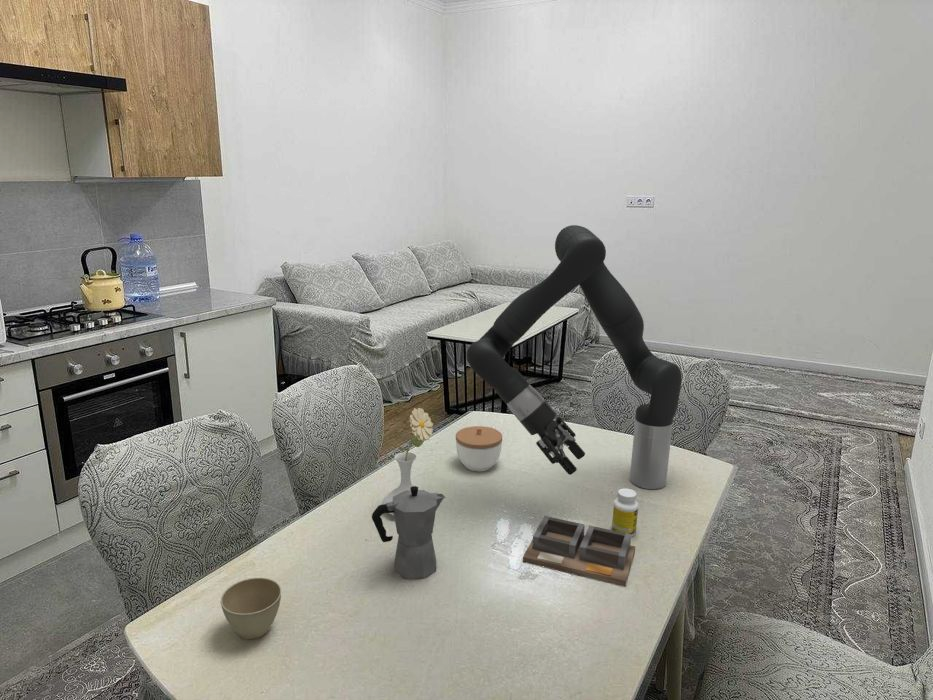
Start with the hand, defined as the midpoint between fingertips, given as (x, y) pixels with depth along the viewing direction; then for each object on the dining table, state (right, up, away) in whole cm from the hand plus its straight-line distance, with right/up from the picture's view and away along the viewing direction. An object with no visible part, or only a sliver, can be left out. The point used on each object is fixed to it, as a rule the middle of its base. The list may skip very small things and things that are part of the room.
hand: (577, 464), depth 146 cm
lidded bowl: (-22, -6, +31) cm, 39 cm away
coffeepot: (-37, -19, -14) cm, 43 cm away
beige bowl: (-63, -24, -32) cm, 74 cm away
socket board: (-1, -18, -10) cm, 20 cm away
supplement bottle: (+10, -15, 0) cm, 18 cm away
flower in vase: (-39, -12, +9) cm, 42 cm away
